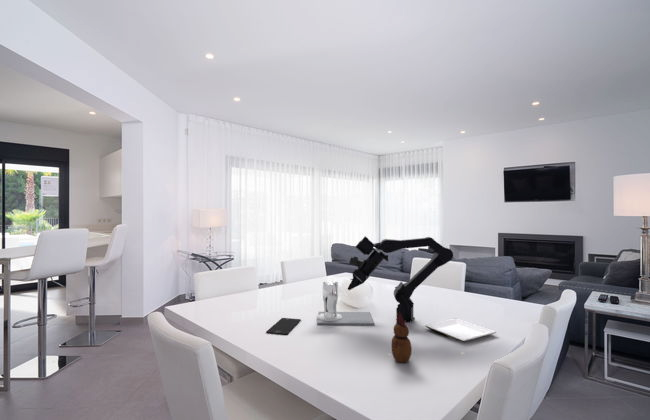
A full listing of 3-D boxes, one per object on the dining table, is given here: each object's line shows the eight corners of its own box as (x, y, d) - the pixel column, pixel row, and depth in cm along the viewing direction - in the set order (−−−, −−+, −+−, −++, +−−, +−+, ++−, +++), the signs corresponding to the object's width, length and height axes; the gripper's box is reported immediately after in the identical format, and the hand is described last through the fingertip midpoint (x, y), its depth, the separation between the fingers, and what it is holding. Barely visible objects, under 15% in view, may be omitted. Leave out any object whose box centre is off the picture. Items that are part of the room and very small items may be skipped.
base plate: (370, 313, 149) (370, 311, 149) (374, 325, 133) (374, 322, 133) (318, 313, 150) (318, 311, 150) (316, 324, 134) (316, 322, 134)
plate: (463, 346, 113) (463, 340, 113) (424, 329, 129) (424, 324, 129) (496, 336, 122) (496, 331, 122) (456, 322, 138) (455, 317, 138)
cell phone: (265, 334, 124) (265, 331, 124) (282, 319, 142) (282, 317, 142) (287, 336, 122) (287, 333, 122) (301, 321, 140) (301, 319, 140)
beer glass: (330, 320, 137) (330, 284, 137) (319, 316, 142) (319, 282, 142) (341, 316, 142) (341, 282, 142) (330, 313, 147) (330, 280, 147)
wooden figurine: (389, 355, 104) (389, 309, 104) (406, 355, 105) (406, 309, 105) (395, 365, 97) (395, 315, 98) (413, 364, 98) (413, 315, 98)
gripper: (360, 250, 154) (339, 274, 155) (356, 250, 136) (332, 277, 137) (378, 265, 151) (357, 290, 152) (376, 268, 133) (352, 296, 134)
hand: (349, 288), depth 144 cm, fingers open, 9 cm apart
